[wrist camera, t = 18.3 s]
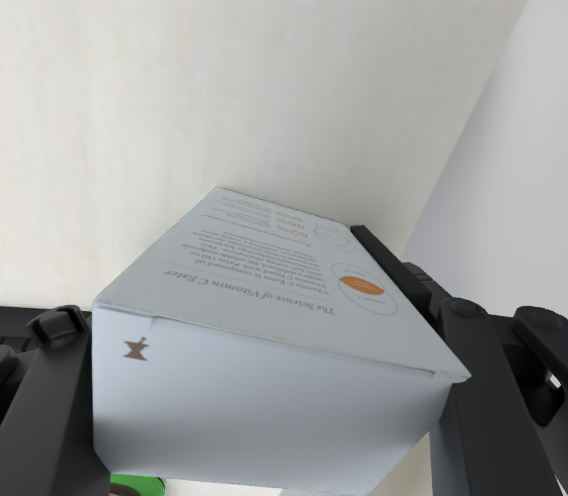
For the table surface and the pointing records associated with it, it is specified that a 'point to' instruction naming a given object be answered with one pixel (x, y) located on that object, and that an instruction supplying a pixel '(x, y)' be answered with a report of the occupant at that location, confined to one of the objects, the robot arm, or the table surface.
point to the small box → (262, 356)
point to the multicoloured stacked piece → (135, 485)
